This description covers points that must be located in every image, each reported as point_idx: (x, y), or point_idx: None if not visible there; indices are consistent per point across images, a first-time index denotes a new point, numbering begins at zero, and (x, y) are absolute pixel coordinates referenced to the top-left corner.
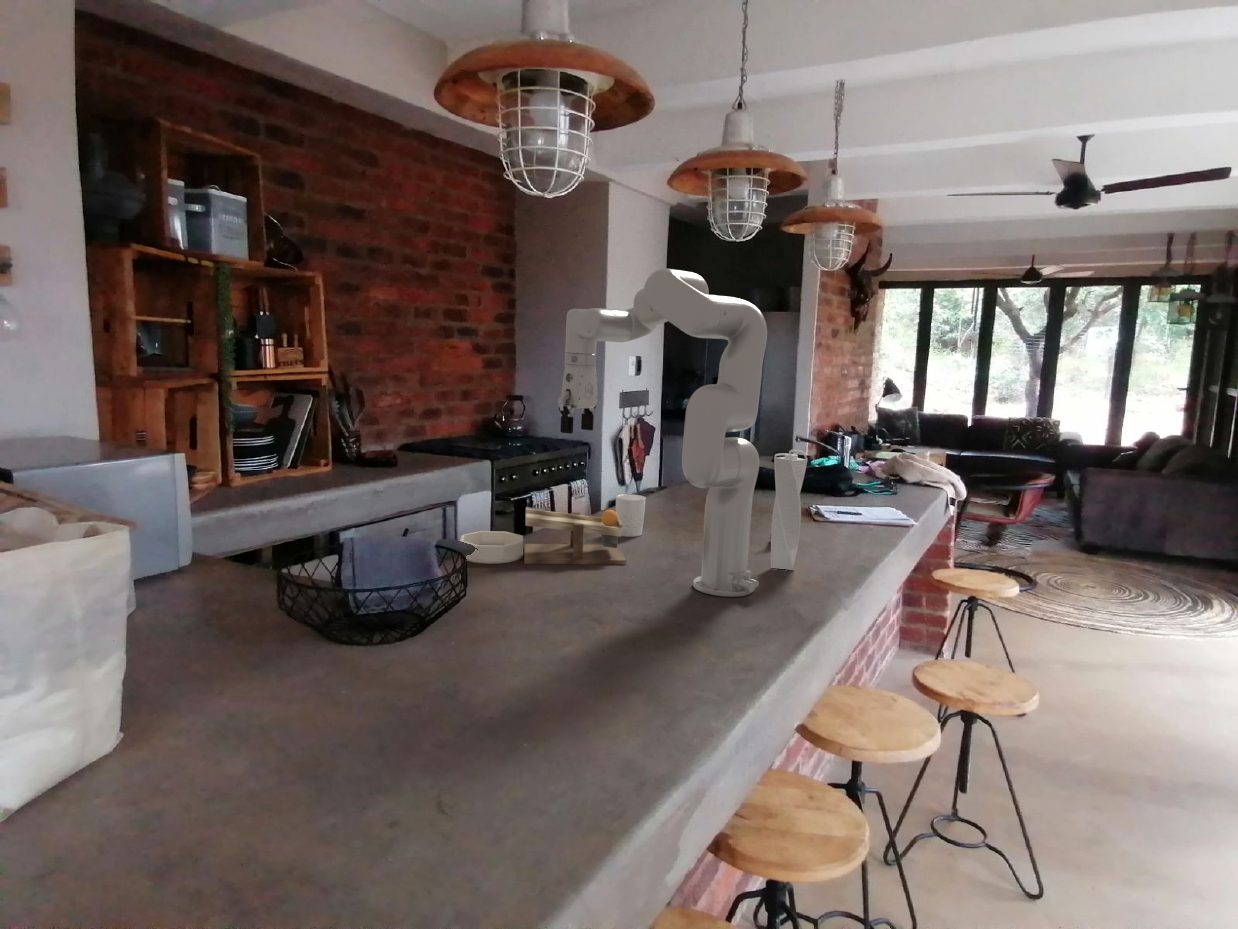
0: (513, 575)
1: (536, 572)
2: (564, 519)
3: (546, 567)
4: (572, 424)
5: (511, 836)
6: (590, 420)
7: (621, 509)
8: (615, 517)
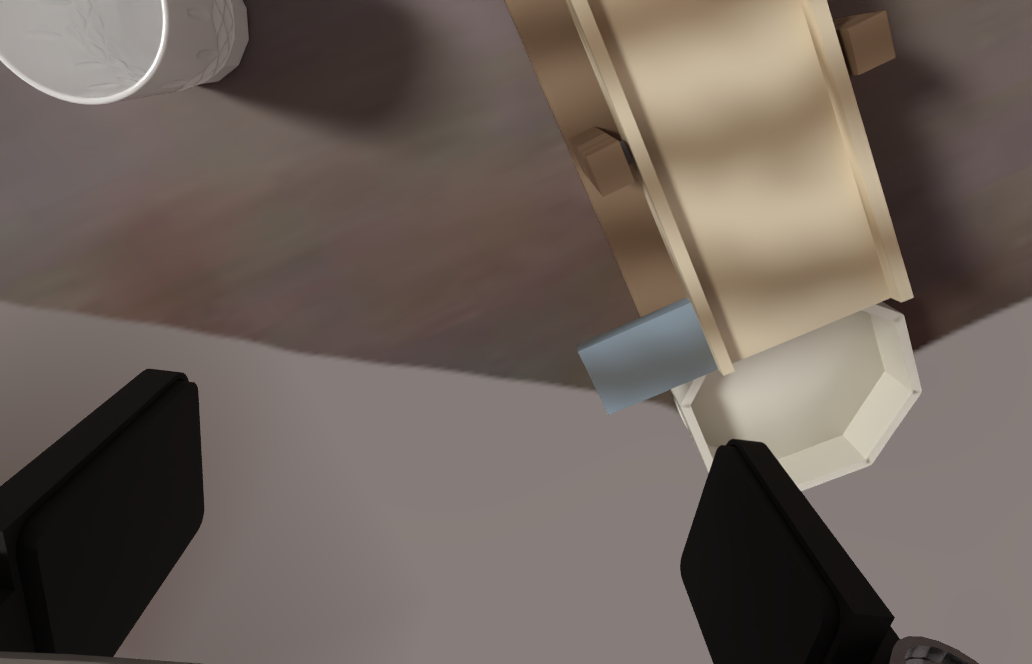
0: (1001, 201)
1: (949, 144)
2: (711, 183)
3: (875, 139)
4: (806, 515)
5: None
6: (114, 482)
7: (196, 36)
8: None
